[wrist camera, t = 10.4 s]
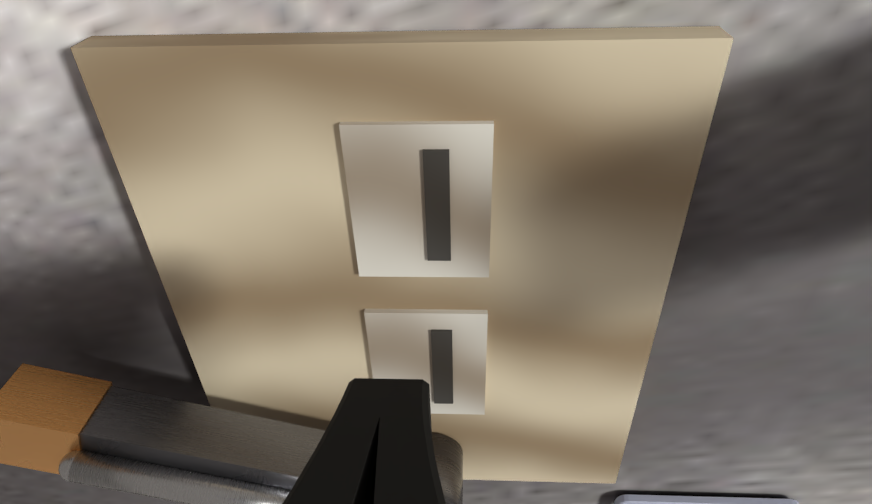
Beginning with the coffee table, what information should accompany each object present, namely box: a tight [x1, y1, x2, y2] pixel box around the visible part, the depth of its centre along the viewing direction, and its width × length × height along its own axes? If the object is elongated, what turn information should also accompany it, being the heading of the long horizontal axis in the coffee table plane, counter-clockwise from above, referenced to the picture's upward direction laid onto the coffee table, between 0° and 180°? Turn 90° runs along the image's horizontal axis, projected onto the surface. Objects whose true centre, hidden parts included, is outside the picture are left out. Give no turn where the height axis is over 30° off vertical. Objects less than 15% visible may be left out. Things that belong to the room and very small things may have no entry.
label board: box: [71, 26, 734, 483], centre depth 20 cm, size 18×16×1 cm
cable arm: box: [0, 363, 463, 504], centre depth 21 cm, size 16×3×4 cm, turn 75°
